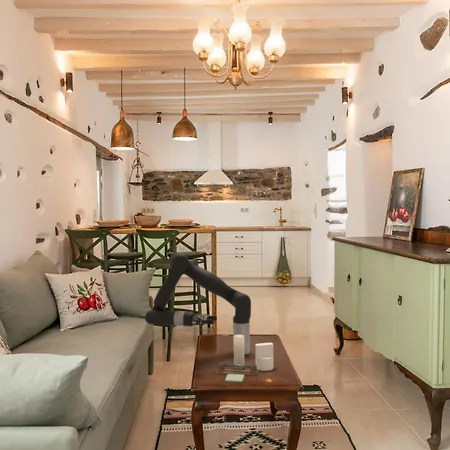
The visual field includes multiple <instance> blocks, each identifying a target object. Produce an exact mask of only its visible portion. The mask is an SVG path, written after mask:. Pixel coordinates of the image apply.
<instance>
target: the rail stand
mask: <svg viewBox="0 0 450 450" xmlns="http://www.w3.org/2000/svg"><path fill="white" fill-rule="evenodd" d="M219 364H225V363H223V362H218V364H216V365H217V367H216V369H217V370H216V372H215V374H217V375H228V374H240V375H244V376H253V377H254V376H255V377H256V376H258V374H259V370H257V365H256V364H253V365H254V366H255V367H254V366H250V368H249V369H235V368H225V367H224V365H219Z"/></svg>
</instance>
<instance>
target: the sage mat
mask: <svg viewBox="0 0 450 450" xmlns="http://www.w3.org/2000/svg"><path fill="white" fill-rule="evenodd" d="M244 379H245V375H240V374H226V376H225V380H224V382H234V383H243V382H244Z"/></svg>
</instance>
